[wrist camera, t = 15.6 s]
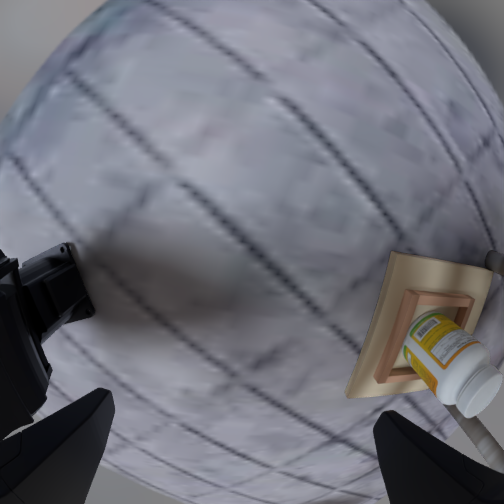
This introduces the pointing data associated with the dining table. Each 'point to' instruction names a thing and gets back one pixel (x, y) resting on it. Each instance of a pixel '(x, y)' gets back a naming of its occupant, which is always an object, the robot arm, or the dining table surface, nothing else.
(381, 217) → the dining table surface
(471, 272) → the wood and grey frame
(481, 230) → the dining table surface
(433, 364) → the supplement bottle
